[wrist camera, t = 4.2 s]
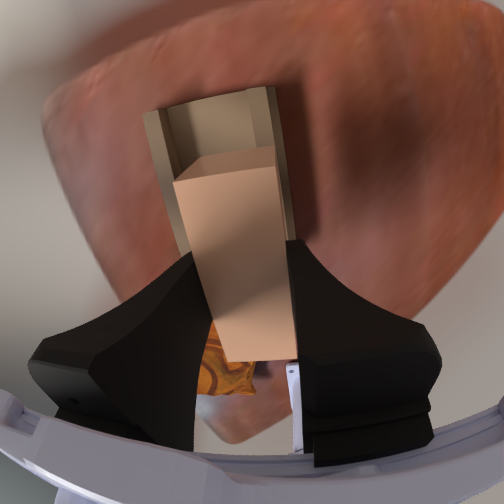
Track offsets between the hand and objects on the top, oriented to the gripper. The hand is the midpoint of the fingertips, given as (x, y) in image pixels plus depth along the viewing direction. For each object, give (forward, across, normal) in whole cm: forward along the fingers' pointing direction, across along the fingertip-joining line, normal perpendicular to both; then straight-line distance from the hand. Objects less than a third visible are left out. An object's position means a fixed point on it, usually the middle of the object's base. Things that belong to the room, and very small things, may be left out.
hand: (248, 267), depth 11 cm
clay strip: (+2, 0, 0) cm, 2 cm away
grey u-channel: (+9, +2, -1) cm, 9 cm away
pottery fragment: (+9, +6, +15) cm, 18 cm away
